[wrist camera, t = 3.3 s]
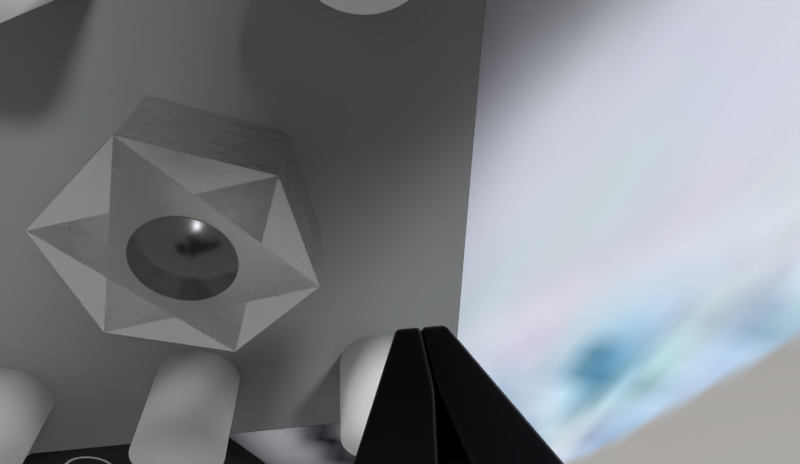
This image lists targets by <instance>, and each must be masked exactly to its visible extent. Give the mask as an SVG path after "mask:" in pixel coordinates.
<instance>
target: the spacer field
mask: <svg viewBox="0 0 800 464" xmlns="http://www.w3.org/2000/svg"><path fill="white" fill-rule="evenodd" d="M484 4H485V0H0V464H23V462H24V460H25V458H26V456H27V454H32V453H42V452H52V451H62V450H73V449H83V448H93V447H103V446H113V445H123V444H131V446H130V449H129V459H130V461H131V462H132V464H223V463H224V460H225V456H226V450H227V445H228V440H229V434H233V433H243V432H253V431H263V430H274V429H284V428H294V427H304V426H314V425H324V424H334V423H341V443H342V445H343V447H344V448H345V449H346V450H347V451H348V452H349V453H351V454H352V455H354V456H356V454H357V451H358V448H359V445H360V442H361V438H362V435H363V432H364V429H365V426H366V423H367V419H368V416H369V413H370V410H371V407H372V404H373V400H374V397H375V394H376V391H377V388H378V385H379V381H380V378H381V375H382V372H383V369H384V366H385V362H386V359H387V356H388V353H389V350H390V347H391V343H392V340H393V337H394V334H395V332H396V331H397V330H398V329H406V328H419V329H420V330H422V329H423V328H424V327H429V326H441V325H443V326H446V327H448V328H449V329H450V331H451V332H452V333H453V334H454V335H455V336H456V338H457V332H458V320H459V308H460V296H461V284H462V272H463V260H464V247H465V235H466V223H467V211H468V199H469V187H470V175H471V162H472V150H473V138H474V126H475V114H476V102H477V90H478V77H479V65H480V53H481V41H482V29H483V17H484ZM147 95H148V96H151V97H155V98H159V99H163V100H166V101H170V102H174V103H177V104H181V105H185V106H188V107H192V108H196V109H199V110H203V111H207V112H211V113H214V114H218V115H222V116H225V117H229V118H233V119H236V120H240V121H244V122H247V123H251V124H255V125H259V126H262V127H266V128H270V129H273V130H277V131H281V132H284V133H287V136H288V139H289V142H290V145H291V148H292V151H293V154H294V157H295V160H296V163H297V165H298V168H299V171H300V174H301V177H302V180H303V183H304V186H305V189H306V192H307V195H308V198H309V200H310V203H311V206H312V209H313V212H314V215H315V218H316V221H317V224H318V227H319V230H320V233H321V262H320V287H318V288H317V289H316V290H315V291H313V292H312V293H311V294H309V295H308V296H307V297H305V298H304V299H303V300H302V301H300V302H299V303H298V304H296V305H295V306H294V307H292V308H291V309H290V310H289V311H287V312H286V313H285V314H283V315H282V316H281V317H279V318H278V319H277V320H276V321H274V322H273V323H272V324H270V325H269V326H268V327H266V328H265V329H264V330H263V331H261V332H260V333H259V334H257V335H256V336H255V337H254V338H252V339H251V340H250V341H248V342H247V343H246V344H244V345H243V346H242V347H241V348H239V349H238V350H237V351H235V352H234V351H227V350H220V349H214V348H207V347H200V346H193V345H186V344H179V343H173V342H166V341H159V340H152V339H145V338H138V337H132V336H125V335H118V334H111V333H104V332H103V331H102V329H101V328H100V327H99V325H98V324H97V323H96V322H95V320H94V319H93V318H92V316H91V315H90V314H89V312H88V311H87V310H86V309H85V307H84V306H83V305H82V303H81V302H80V301H79V299H78V298H77V297H76V296H75V294H74V293H73V292H72V290H71V289H70V288H69V287H68V285H67V284H66V283H65V281H64V280H63V279H62V277H61V276H60V275H59V274H58V272H57V271H56V270H55V268H54V267H53V266H52V264H51V263H50V262H49V261H48V259H47V258H46V257H45V255H44V254H43V253H42V251H41V250H40V249H39V248H38V246H37V245H36V244H35V242H34V241H33V240H32V238H31V237H30V236H29V235H28V233H27V232H26V230H27V229H28V227H29V226H30V225H31V224H32V223H33V222H34V221H35V219H36V218H37V217H38V216H39V215H40V214H41V213H42V211H43V210H44V209H45V208H46V207H47V206H48V205H49V204H50V202H51V201H52V200H53V199H54V198H55V197H56V196H57V194H58V193H59V192H60V191H61V190H62V189H63V188H64V186H65V185H66V184H67V183H68V182H69V181H70V180H71V179H72V178H73V176H74V175H75V174H76V173H77V172H78V171H79V170H80V169H81V168H82V167H83V165H84V164H85V163H86V162H87V161H88V160H89V159H90V158H91V157H92V156H93V154H94V153H95V152H96V151H97V150H98V149H99V148H100V147H101V146H102V145H103V144H104V142H105V141H106V140H107V139H108V138H109V137H110V136H111V135H112V134H113V133H114V131H115V130H116V129H117V128H118V127H119V126H120V125H121V124H122V123H123V122H124V121H125V119H126V118H127V117H128V116H129V115H130V114H131V113H132V112H133V111H134V110H135V108H136V107H137V106H138V105H139V104H140V103H141V102H142V101H143V100H144V99H145V97H146V96H147Z"/></svg>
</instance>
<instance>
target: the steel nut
mask: <svg viewBox="0 0 800 464" xmlns="http://www.w3.org/2000/svg"><path fill="white" fill-rule="evenodd" d="M26 232H27V233H28V235H29V236H30V237H31V238H32V240H33V241H34V242H35V244H36V245H37V246H38V248H39V249H40V250H41V251H42V253H43V254H44V255H45V257H46V258H47V259H48V261H49V262H50V263H51V264H52V266H53V267H54V268H55V270H56V271H57V272H58V274H59V275H60V276H61V277H62V279H63V280H64V281H65V283H66V284H67V285H68V287H69V288H70V289H71V290H72V292H73V293H74V294H75V296H76V297H77V298H78V299H79V301H80V302H81V303H82V305H83V306H84V307H85V309H86V310H87V311H88V312H89V314H90V315H91V316H92V318H93V319H94V320H95V322H96V323H97V324H98V325H99V327H100V328H101V329H102V331H103V332H104V333H111V334H118V335H125V336H132V337H138V338H145V339H152V340H159V341H166V342H173V343H179V344H186V345H193V346H200V347H207V348H214V349H220V350H227V351H234V352H235V351H237V350H238V349H239V348H241V347H242V346H243V345H244V344H246V343H247V342H248V341H250V340H251V339H252V338H254V337H255V336H256V335H257V334H259V333H260V332H261V331H263V330H264V329H265V328H266V327H268V326H269V325H270V324H272V323H273V322H274V321H276V320H277V319H278V318H279V317H281V316H282V315H283V314H285V313H286V312H287V311H289V310H290V309H291V308H292V307H294V306H295V305H296V304H298V303H299V302H300V301H302V300H303V299H304V298H305V297H307V296H308V295H309V294H311V293H312V292H313V291H315V290H316V289H317V288H318V287H320V262H321V233H320V230H319V227H318V224H317V221H316V218H315V215H314V212H313V209H312V206H311V203H310V200H309V198H308V195H307V192H306V189H305V186H304V183H303V180H302V177H301V174H300V171H299V168H298V165H297V163H296V160H295V157H294V154H293V151H292V148H291V145H290V142H289V139H288V136H287V133H284V132H281V131H277V130H273V129H270V128H266V127H262V126H259V125H255V124H251V123H247V122H244V121H240V120H236V119H233V118H229V117H225V116H222V115H218V114H214V113H211V112H207V111H203V110H199V109H196V108H192V107H188V106H185V105H181V104H177V103H174V102H170V101H166V100H163V99H159V98H155V97H151V96H148V95H147V96H146V97H145V99H144V100H143V101H142V102H141V103H140V104H139V105H138V106H137V107H136V108H135V110H134V111H133V112H132V113H131V114H130V115H129V116H128V117H127V118H126V119H125V121H124V122H123V123H122V124H121V125H120V126H119V127H118V128H117V129H116V130H115V131H114V133H113V134H112V135H111V136H110V137H109V138H108V139H107V140H106V141H105V142H104V144H103V145H102V146H101V147H100V148H99V149H98V150H97V151H96V152H95V153H94V154H93V156H92V157H91V158H90V159H89V160H88V161H87V162H86V163H85V164H84V165H83V167H82V168H81V169H80V170H79V171H78V172H77V173H76V174H75V175H74V176H73V178H72V179H71V180H70V181H69V182H68V183H67V184H66V185H65V186H64V188H63V189H62V190H61V191H60V192H59V193H58V194H57V196H56V197H55V198H54V199H53V200H52V201H51V202H50V204H49V205H48V206H47V207H46V208H45V209H44V210H43V211H42V213H41V214H40V215H39V216H38V217H37V218H36V219H35V221H34V222H33V223H32V224H31V225H30V226H29V227H28V229H27V230H26Z"/></svg>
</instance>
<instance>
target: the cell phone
mask: <svg viewBox="0 0 800 464" xmlns="http://www.w3.org/2000/svg"><path fill="white" fill-rule="evenodd" d="M130 446H131V444H123V445H113V446H103V447H93V448H83V449H73V450H62V451H52V452H42V453H32V454H30V455H28V456H26V458H25V460H24V462H23V464H132V462H131V461H130V459H129V449H130ZM223 464H265V463H264V462H263V461H261V460H260V459H258V458H257V457H256V456H254V455H253V454H251V453H250V452H248V451H247V450H246V449H244V448H243V447H241V446H240V445H239V444H237V443H236V442H234V441H233V440H232V439H230V438H229V440H228V445H227V450H226V456H225V460H224V463H223Z"/></svg>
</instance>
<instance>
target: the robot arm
mask: <svg viewBox="0 0 800 464" xmlns="http://www.w3.org/2000/svg"><path fill="white" fill-rule="evenodd" d="M354 464H564V463H563V462H562V461H561V460H560V459H559V457H558V456H557V455H556V454H555V453H554V452H553V450H552V449H551V448H550V447H549V446H548V445H547V443H546V442H545V441H544V440H543V439H542V437H541V436H540V435H539V434H538V433H537V432H536V430H535V429H534V428H533V427H532V426H531V425H530V423H529V422H528V421H527V420H526V419H525V417H524V416H523V415H522V414H521V413H520V412H519V410H518V409H517V408H516V407H515V406H514V405H513V403H512V402H511V401H510V400H509V399H508V398H507V396H506V395H505V394H504V393H503V392H502V390H501V389H500V388H499V387H498V386H497V385H496V383H495V382H494V381H493V380H492V379H491V378H490V376H489V375H488V374H487V373H486V372H485V371H484V369H483V368H482V367H481V366H480V365H479V363H478V362H477V361H476V360H475V359H474V358H473V356H472V355H471V354H470V353H469V352H468V351H467V349H466V348H465V347H464V346H463V345H462V343H461V342H460V341H459V340H458V339H457V338H456V336H455V335H454V334H453V333H452V332H451V331H450V329H449V328H448V327H446V326H443V325H441V326H429V327H424V328H423V329H422V330H420V329H419V328H406V329H398V330H397V331H396V332H395V334H394V337H393V340H392V343H391V347H390V350H389V353H388V356H387V359H386V362H385V366H384V369H383V372H382V375H381V378H380V381H379V385H378V388H377V391H376V394H375V397H374V400H373V404H372V407H371V410H370V413H369V416H368V419H367V423H366V426H365V429H364V432H363V435H362V438H361V442H360V445H359V448H358V451H357V454H356V457H355V461H354Z"/></svg>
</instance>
